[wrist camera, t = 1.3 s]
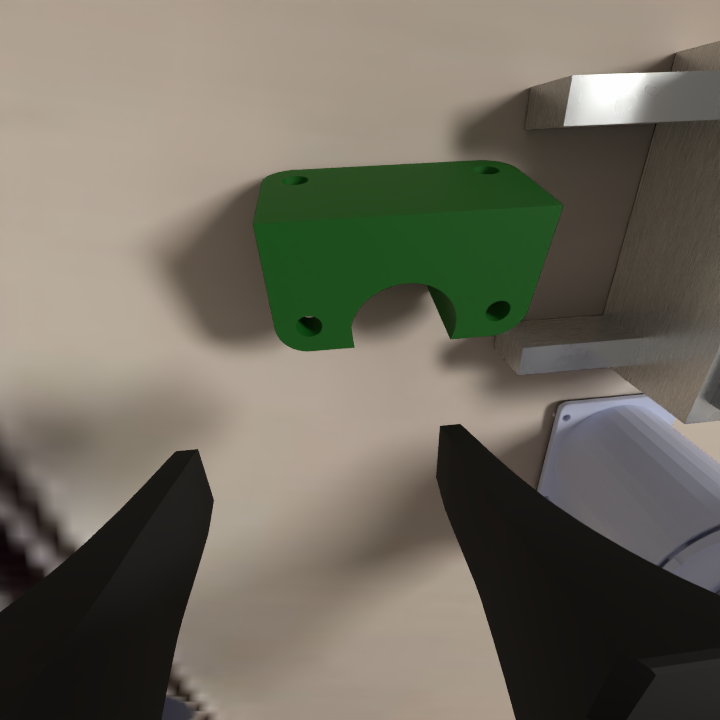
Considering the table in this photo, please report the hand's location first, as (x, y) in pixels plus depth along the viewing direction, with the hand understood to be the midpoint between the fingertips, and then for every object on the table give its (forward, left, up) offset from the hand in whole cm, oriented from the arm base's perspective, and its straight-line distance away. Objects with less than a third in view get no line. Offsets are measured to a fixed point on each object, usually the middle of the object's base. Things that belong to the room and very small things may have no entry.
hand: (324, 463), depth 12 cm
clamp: (+4, -4, -10) cm, 12 cm away
